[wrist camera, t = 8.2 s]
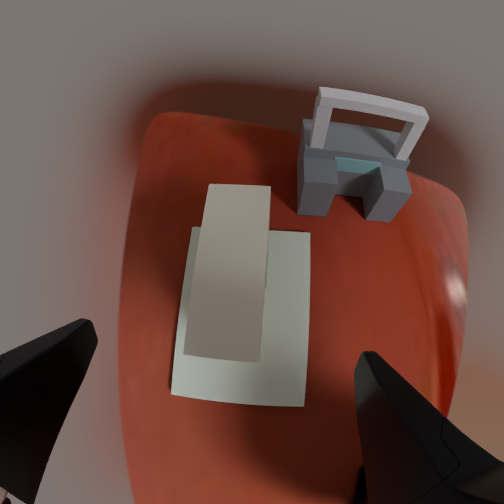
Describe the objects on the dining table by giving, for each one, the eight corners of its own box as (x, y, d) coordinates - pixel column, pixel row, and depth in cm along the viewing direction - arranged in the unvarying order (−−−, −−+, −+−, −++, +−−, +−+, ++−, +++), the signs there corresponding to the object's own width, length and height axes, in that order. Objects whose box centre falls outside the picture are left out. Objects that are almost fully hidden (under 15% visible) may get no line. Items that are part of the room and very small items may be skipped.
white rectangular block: (260, 361, 19) (259, 363, 10) (218, 357, 20) (181, 354, 10) (268, 259, 22) (271, 186, 13) (229, 256, 23) (208, 183, 13)
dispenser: (389, 222, 24) (446, 144, 14) (297, 214, 25) (316, 120, 14) (380, 172, 26) (419, 91, 16) (296, 163, 27) (309, 69, 16)
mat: (302, 405, 19) (304, 406, 18) (173, 393, 19) (170, 394, 19) (308, 235, 24) (309, 232, 23) (193, 229, 24) (192, 226, 24)
